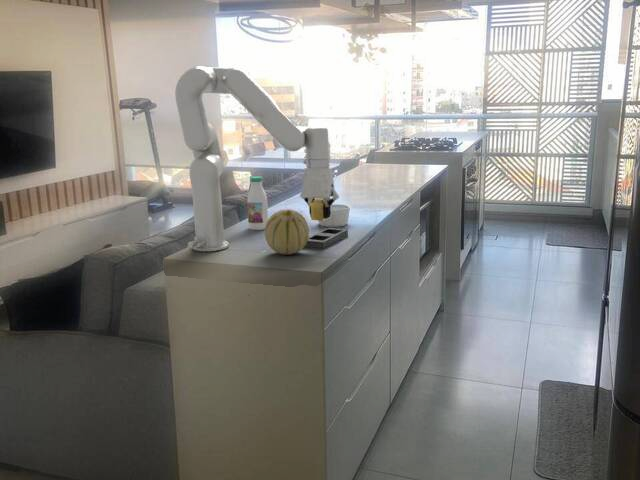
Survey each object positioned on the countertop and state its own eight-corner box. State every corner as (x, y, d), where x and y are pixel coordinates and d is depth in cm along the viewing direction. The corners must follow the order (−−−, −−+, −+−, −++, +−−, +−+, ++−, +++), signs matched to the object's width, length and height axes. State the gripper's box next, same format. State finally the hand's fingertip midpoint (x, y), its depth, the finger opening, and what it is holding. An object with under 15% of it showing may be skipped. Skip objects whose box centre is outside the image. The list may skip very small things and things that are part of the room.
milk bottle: (258, 225, 244) (256, 174, 239) (272, 227, 240) (270, 176, 235) (244, 228, 239) (241, 177, 234) (258, 231, 234) (256, 179, 229)
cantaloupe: (290, 245, 212) (288, 202, 209) (319, 253, 202) (318, 208, 198) (255, 254, 203) (253, 209, 199) (284, 262, 192) (282, 215, 189)
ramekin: (311, 222, 247) (311, 205, 245) (341, 219, 252) (341, 202, 250) (324, 229, 235) (324, 211, 233) (355, 225, 240) (355, 208, 238)
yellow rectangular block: (323, 220, 207) (322, 200, 205) (311, 220, 209) (310, 200, 207) (329, 218, 211) (328, 198, 209) (317, 217, 213) (316, 197, 211)
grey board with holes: (323, 249, 206) (323, 242, 206) (302, 247, 210) (302, 240, 209) (347, 236, 223) (347, 229, 223) (328, 234, 227) (327, 227, 226)
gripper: (290, 164, 206) (293, 218, 210) (336, 165, 198) (337, 221, 203) (301, 162, 212) (303, 213, 217) (345, 162, 205) (347, 216, 209)
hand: (320, 216), depth 210 cm, fingers closed on yellow rectangular block, 4 cm apart
